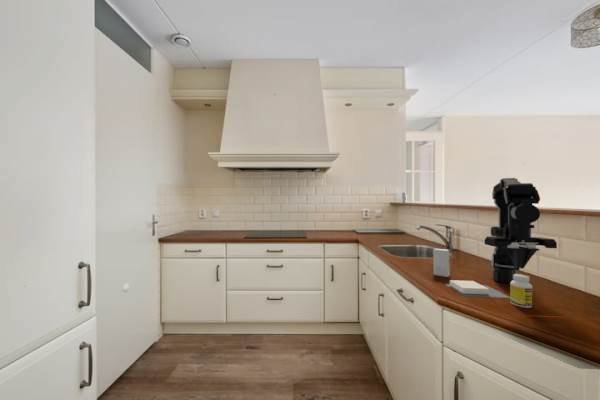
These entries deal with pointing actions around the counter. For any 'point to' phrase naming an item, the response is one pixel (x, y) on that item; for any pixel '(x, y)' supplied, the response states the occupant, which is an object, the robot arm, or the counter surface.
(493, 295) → the mat
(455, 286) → the tile
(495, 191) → the robot arm
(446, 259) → the skincare box
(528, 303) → the supplement bottle
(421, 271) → the counter surface
